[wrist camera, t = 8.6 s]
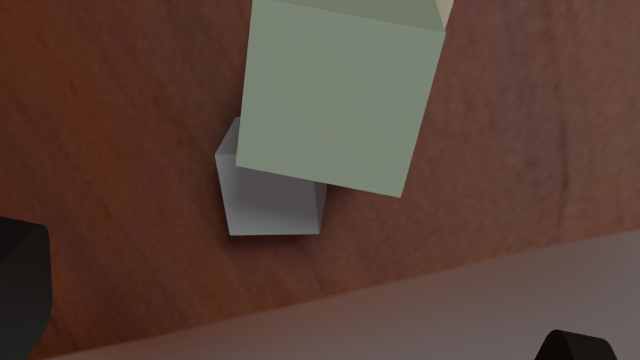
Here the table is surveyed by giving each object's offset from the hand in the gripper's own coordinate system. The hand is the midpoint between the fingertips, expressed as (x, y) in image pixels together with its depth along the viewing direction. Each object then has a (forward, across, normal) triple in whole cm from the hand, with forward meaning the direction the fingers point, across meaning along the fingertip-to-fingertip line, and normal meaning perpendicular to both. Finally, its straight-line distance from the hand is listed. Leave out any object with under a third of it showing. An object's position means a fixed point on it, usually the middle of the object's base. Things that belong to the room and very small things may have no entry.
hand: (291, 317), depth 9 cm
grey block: (+18, +2, +7) cm, 19 cm away
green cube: (+13, 0, 0) cm, 13 cm away
